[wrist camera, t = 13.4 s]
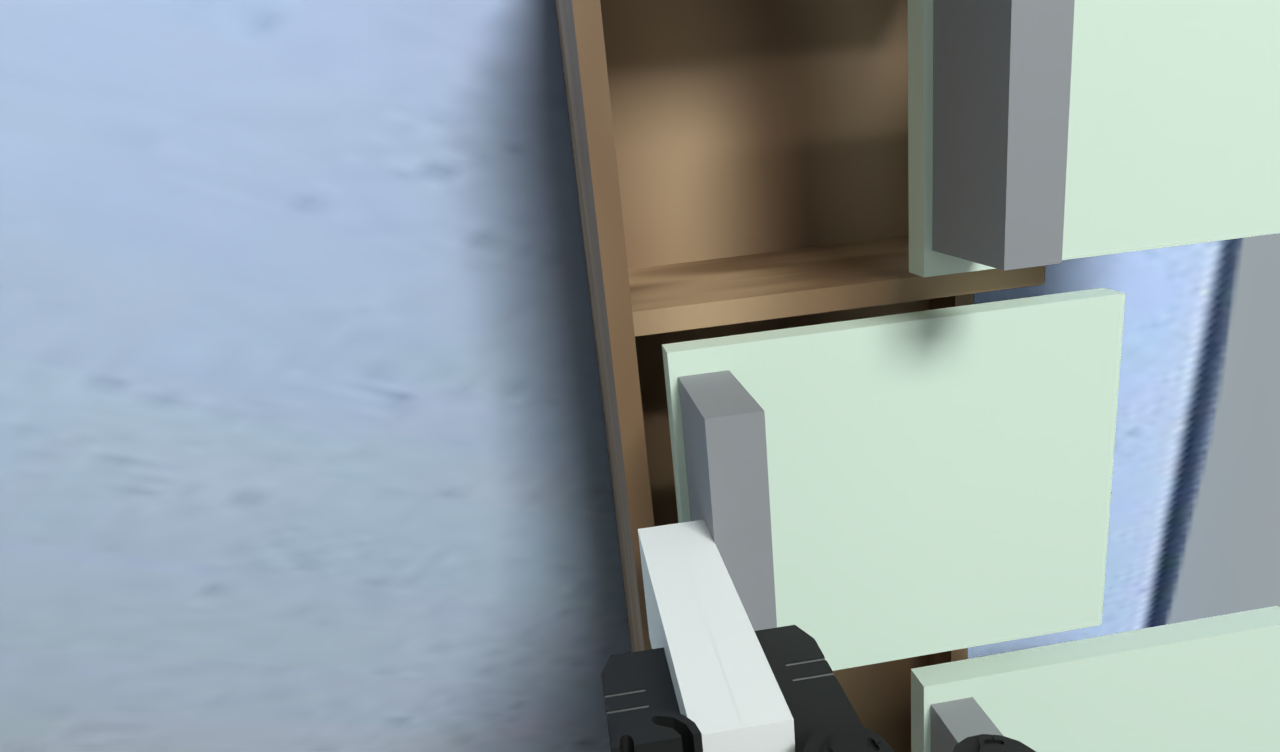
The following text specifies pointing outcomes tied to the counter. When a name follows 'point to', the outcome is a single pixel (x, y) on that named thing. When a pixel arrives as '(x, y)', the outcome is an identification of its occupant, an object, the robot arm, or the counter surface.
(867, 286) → the box
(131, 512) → the counter surface
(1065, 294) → the lid
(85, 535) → the counter surface
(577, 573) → the counter surface
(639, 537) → the robot arm
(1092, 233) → the lid
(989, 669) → the lid
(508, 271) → the counter surface
